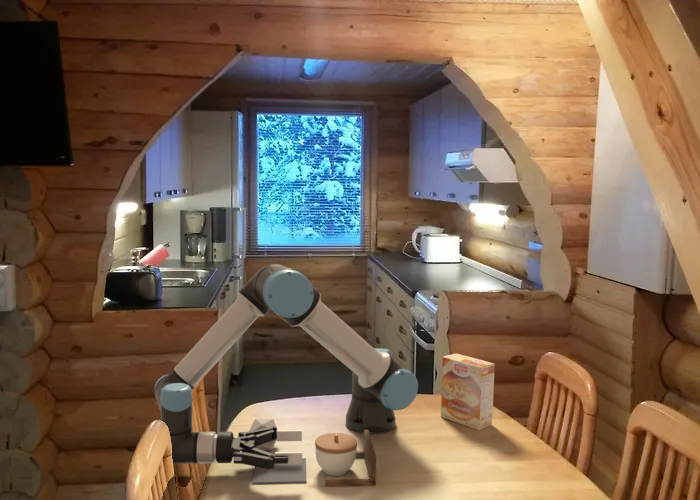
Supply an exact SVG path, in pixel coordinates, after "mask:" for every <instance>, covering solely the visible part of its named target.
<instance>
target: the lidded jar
mask: <svg viewBox="0 0 700 500" xmlns="http://www.w3.org/2000/svg"><path fill="white" fill-rule="evenodd" d="M314 447H315V449H314V450H315V458H316V462H317V464H318V466H319V467H320V468H321V469H322V470H323V472H324V474H327V475H328V476H335V477H336V476H338V477H339V476H342V475H345V474H347V473H348V471H349V470H350V469H352V468H353V465H354V463H355V460H356V458H357V457H356V453H357V451H358V450H357V449H358V440H357V438H356V437H355V436H352V435H350V434H347V433H342V432H332V433H331V432H330V433H324V434H322V435H319V436H317V437H316V439H315V441H314Z"/></svg>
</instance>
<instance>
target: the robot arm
mask: <svg viewBox="0 0 700 500" xmlns="http://www.w3.org/2000/svg"><path fill="white" fill-rule="evenodd" d="M269 311H271V312H273V313H274V314H276V316H278V317H280V319H282V321H284V322H285V323H286V324H287V325H289V326H290V327H300V328H301V329H303V331H305V332H306V333H307V334H308V335H310V336H311V338H313V339H314V340H315V341H316V342H317V343H319V344H320V345H321V346H322V347H323V348H325V350H326V351H328V352H329V353H330V354H332V356H334V357H335V358H336V359H337V360H339V361H340V363H342V364H343V365H344V366H346V368H348V369H349V370H350V371H351V400H350V403H349V405H348V408H347V412H346V415H345V425H346V427H347V428H349V429H350V430H352V431H354V432H357V433H358V432H360V433H363V434H364V430H369V433H370V434H382V433H385V432H389V431H392V430H393V429H395V428H396V421H397V420H396V419H397V418H396V414H395V411H401V410H405V409H406V408H408V407H409V406H411V404H412V403H413V402H414V400H415V399H416V397H417V395H418V391H419V382H418V379H417V376H416V375H415V374H414V373H413V372H412V371H411V370H410V369H408V368H405V367H404V366H402V365H401V364H400V362H398V361H397V360H396V359H394V357H393V355H392V350H390V349H388V348H382V347H381V348H378V347H377V348H375V347H373V346H372V344H371V345H370V343H368V342H367V341H366V340H365V339H364V338H363V337H362V336H360V334H358V333H357V332H356V331H355V330H354V329H353V328H352V327H351V326H349V325H348V324H347V323H346V322H345V321H344V320H343V319H341V318H340V317H339V316H338V315H337V314H336V313H335V312H334V311H332V309H330V308H329V307H328V306H327V305H326V304H325V303H323V302H322V294H321V292H320V291H319V290H318V289H317V288H316V287H314V286H313V285H312V284H311V281H310V280H309V279H308V277H307V276H306V275H304V274H303V273H302V272H301V271H298V270H295V269H293V268H290V267H287V266H285V265H283V264H279V263H272V264H267V265H265V266H263V267H262V268H259V269H258V270H257V271H256V272H255V273H254V274H253V276H251V278H250V279H249V280H248V281H247V282H246V283H245V284H244V285H243V286H242V287H241V289H240V290H239V291H238V292H237V298H236V299H235V301H234V302H232V304H231V305H230V306H229V307H228V308H227V310H226V311H225V312H224V313H223V314H221V316H220V317H219V318H218V320H217V321H216V322H215V323H214V324H213V325H212V326H211V327H210V328H209V329H208V330H207V332H206V333H204V335H203V336H202V337H201V338H200V339H199V340H198V341H197V342H196V343H195V345H194V346H193V347H192V348H191V349H190V350H189V352H187V354H186V355H185V356H184V357H183V358H182V359H180V361H179V363H177V365H176V366H175V367H174V368H173V369H172V370H171V371H170V372H169V373H168V374H164V375H162V376H161V377H159V378H158V379H157V381H156V382H155V384H154V398H155V400H156V401H157V405H158V409H159V411H160V422H161V421H163V422H165V423H166V425H167V426H168V428H169V431H170V436H171V443H172V459H173V465H188V464H194V465H195V464H198V465H199V464H203V465H204V466H206V465H207V464H214V463H215V462H216V463H217V464H231V463H232V462H233V464H237V465H247V466H250V467H254V468H255V467H260V468H265V469H274V464H302V458H303V451H275V452H274V453H272V452H268V451H267V450H260V449H257V448H256V447H257V446H259V445H262V444H265V443H267V442H270V441H273V440H276V439H277V441H276V442H302V440H303V429H293V430H292V429H288V430H286V429H282V430H281V429H278V426H276V427H268V428H263V429H258V430H253V431H239V432H238V435H237V437H234V432H233V431H219V432H218V433H216V431H196V432H195V431H193V401H194V398H193V393H192V392H193V390H194V389H195V387H196V386H197V385H198V384H200V382H201V381H202V380H203V379H204V378H205V376H207V374H208V373H209V372H210V371H211V370H212V369H213V368H214V366H215V365H216V364H217V363H218V362H219V361H220V360H221V358H223V357H224V356H225V354H227V352H228V351H229V350H230V348H232V346H234V344H235V343H236V342H237V341H238V340H239V339H240V338H241V336H243V335H244V333H245V332H246V331H247V330H248V329H249V328H250V327H251V325H252V324H253V323H254V322H255V321H256V320H257V319H258V318H260V317H264V316H265V315H266V314H267V313H268V312H269Z"/></svg>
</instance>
